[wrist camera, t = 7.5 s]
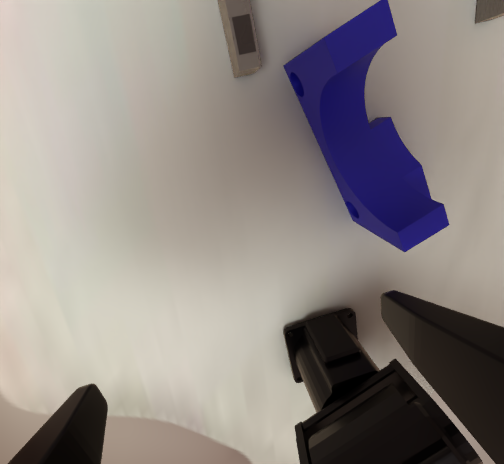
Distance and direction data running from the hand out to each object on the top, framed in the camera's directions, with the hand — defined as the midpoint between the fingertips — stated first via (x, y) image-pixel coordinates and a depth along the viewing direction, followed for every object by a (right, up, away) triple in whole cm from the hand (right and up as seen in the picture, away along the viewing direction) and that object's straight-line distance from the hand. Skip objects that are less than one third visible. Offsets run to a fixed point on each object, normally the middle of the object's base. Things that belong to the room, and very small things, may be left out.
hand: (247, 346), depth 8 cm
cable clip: (+7, +10, +11) cm, 16 cm away
